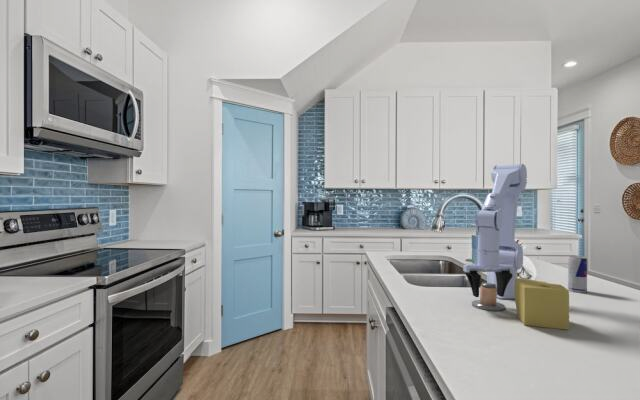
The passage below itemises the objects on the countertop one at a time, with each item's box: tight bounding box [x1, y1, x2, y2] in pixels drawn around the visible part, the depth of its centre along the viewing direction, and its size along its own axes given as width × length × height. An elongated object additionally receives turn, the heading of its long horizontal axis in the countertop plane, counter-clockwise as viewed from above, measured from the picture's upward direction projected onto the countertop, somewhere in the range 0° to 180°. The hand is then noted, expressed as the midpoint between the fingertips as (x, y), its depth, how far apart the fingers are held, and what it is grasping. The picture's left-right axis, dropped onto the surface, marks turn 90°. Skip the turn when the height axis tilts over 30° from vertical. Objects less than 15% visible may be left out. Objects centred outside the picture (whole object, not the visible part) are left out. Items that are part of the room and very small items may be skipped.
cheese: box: [514, 278, 570, 330], centre depth 92 cm, size 10×11×10 cm
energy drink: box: [567, 255, 588, 294], centre depth 124 cm, size 5×5×12 cm
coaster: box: [471, 299, 506, 312], centre depth 105 cm, size 9×9×1 cm
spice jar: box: [479, 282, 498, 307], centre depth 105 cm, size 4×4×6 cm
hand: (488, 296), depth 105 cm, fingers open, 7 cm apart
